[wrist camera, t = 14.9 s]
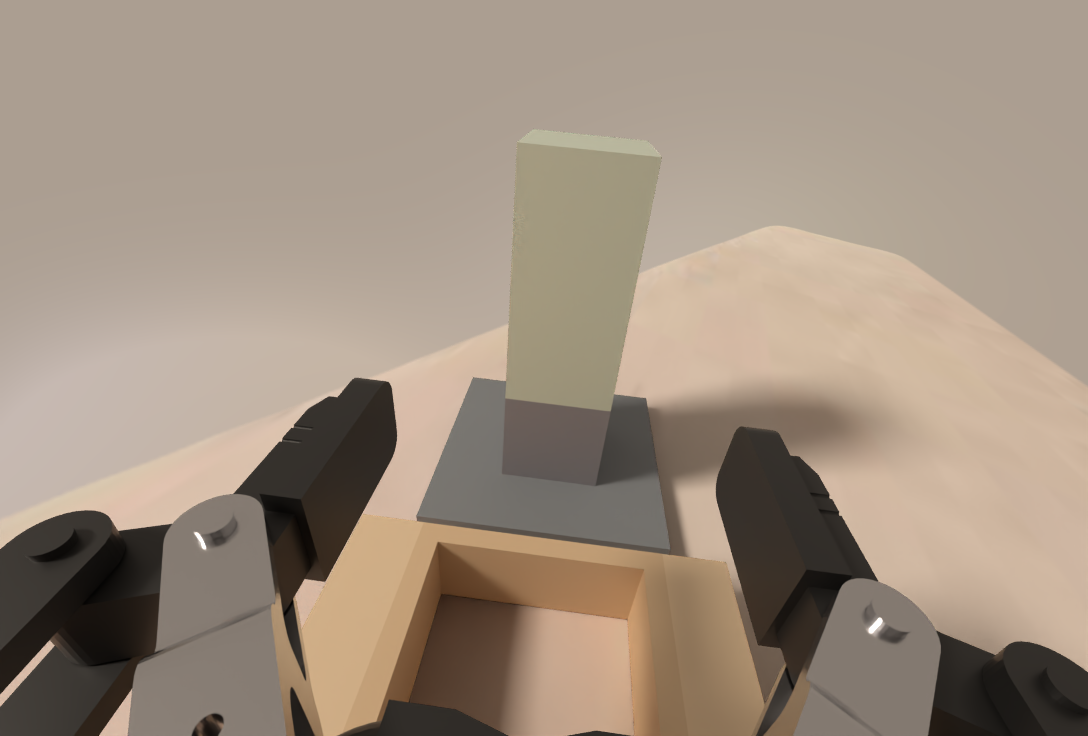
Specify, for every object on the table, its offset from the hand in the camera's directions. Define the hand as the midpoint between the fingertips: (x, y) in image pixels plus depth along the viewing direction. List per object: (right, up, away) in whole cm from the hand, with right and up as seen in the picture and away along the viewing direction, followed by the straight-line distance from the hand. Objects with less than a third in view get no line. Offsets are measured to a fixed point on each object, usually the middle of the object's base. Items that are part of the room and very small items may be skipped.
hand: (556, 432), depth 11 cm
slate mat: (0, -4, +16) cm, 17 cm away
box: (0, -3, +16) cm, 16 cm away
